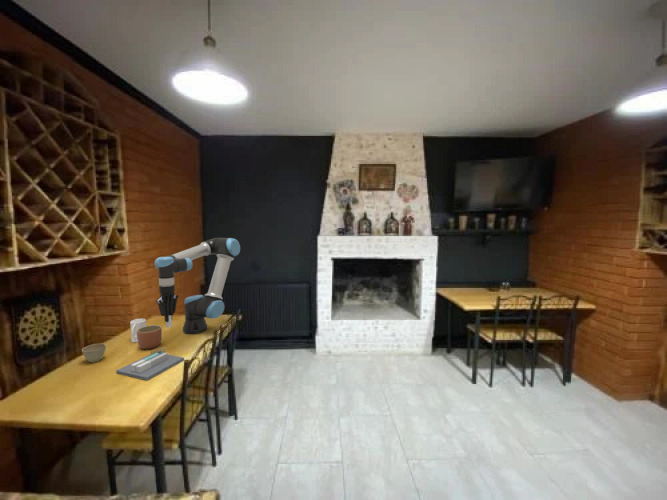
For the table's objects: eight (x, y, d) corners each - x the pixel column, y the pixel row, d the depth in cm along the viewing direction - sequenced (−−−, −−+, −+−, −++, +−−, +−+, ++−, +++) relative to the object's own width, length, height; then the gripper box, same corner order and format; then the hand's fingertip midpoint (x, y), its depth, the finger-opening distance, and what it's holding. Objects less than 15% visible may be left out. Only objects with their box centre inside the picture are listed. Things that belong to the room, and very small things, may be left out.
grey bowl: (81, 360, 167) (80, 347, 166) (104, 354, 174) (103, 342, 174) (85, 366, 160) (84, 353, 159) (108, 360, 168) (107, 347, 167)
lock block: (160, 351, 174) (160, 346, 174) (165, 352, 173) (165, 347, 173) (151, 356, 168) (150, 351, 168) (156, 357, 167) (155, 352, 167)
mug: (138, 344, 188) (137, 324, 186) (124, 344, 188) (123, 324, 186) (150, 336, 199) (149, 318, 198) (136, 336, 199) (135, 318, 198)
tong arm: (159, 357, 168) (159, 351, 167) (163, 357, 167) (162, 352, 167) (131, 370, 153) (130, 364, 153) (134, 371, 152) (134, 365, 152)
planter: (140, 353, 176) (139, 334, 175) (135, 346, 185) (134, 328, 184) (164, 347, 184) (163, 328, 183) (159, 340, 194) (158, 323, 192)
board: (157, 353, 176) (157, 344, 175) (186, 359, 169) (185, 349, 168) (116, 373, 154) (115, 362, 153) (147, 380, 147) (146, 369, 146)
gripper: (171, 282, 181) (173, 322, 184) (151, 287, 169) (153, 329, 172) (181, 283, 179) (183, 323, 181) (162, 288, 167) (164, 331, 169)
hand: (168, 326), depth 177 cm, fingers closed
